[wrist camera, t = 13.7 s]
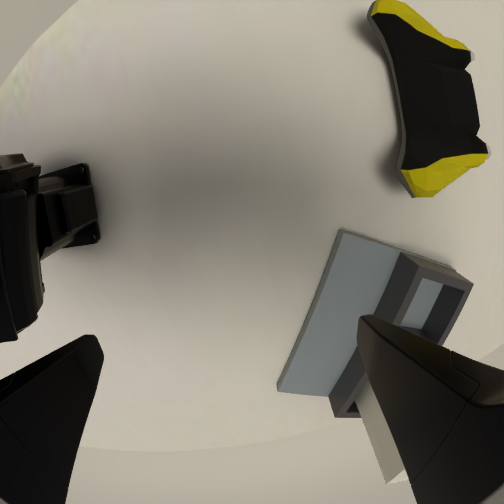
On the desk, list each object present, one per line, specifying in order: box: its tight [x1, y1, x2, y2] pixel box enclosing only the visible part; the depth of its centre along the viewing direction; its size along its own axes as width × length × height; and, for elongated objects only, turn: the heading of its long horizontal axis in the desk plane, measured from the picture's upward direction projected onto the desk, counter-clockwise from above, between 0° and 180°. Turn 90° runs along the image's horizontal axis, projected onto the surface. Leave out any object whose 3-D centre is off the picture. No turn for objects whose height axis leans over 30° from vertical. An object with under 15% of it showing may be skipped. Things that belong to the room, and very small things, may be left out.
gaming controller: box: [367, 0, 491, 198], centre depth 15 cm, size 15×6×10 cm
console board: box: [277, 230, 474, 418], centre depth 22 cm, size 13×16×4 cm
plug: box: [355, 380, 408, 484], centre depth 19 cm, size 4×4×12 cm
